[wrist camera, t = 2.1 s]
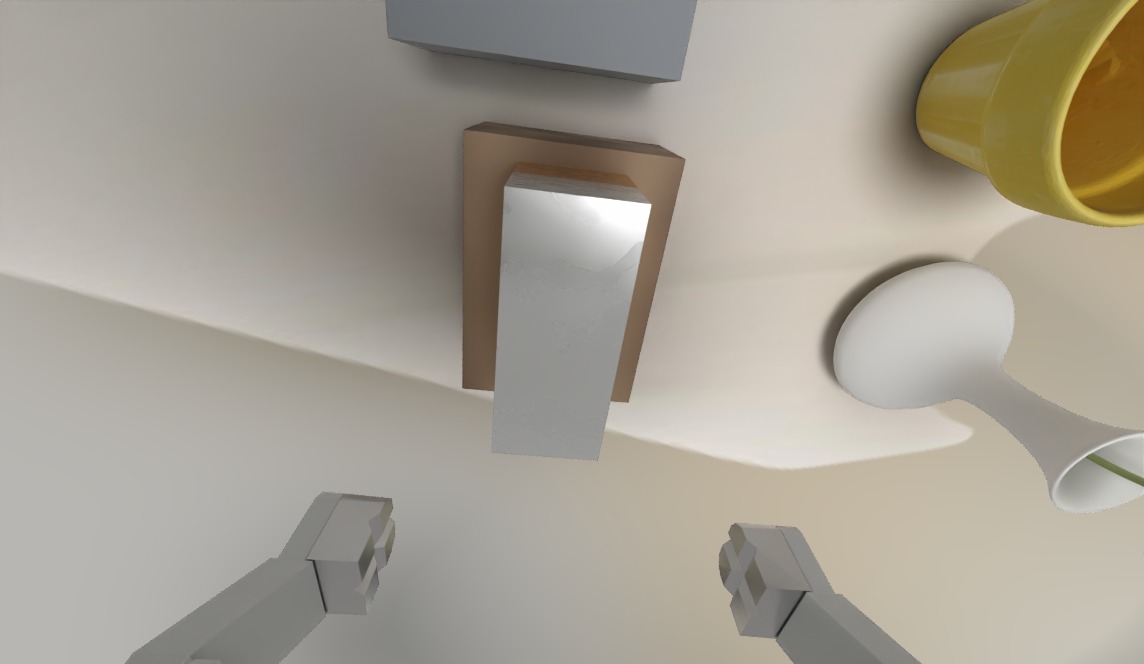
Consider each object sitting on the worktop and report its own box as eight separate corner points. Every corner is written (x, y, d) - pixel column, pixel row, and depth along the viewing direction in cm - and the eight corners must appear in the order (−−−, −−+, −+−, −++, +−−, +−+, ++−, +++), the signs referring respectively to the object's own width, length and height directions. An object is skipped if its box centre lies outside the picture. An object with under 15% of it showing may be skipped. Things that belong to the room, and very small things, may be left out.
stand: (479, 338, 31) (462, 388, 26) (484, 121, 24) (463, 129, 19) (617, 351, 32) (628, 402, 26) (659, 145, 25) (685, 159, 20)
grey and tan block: (505, 378, 25) (491, 452, 20) (519, 161, 20) (504, 186, 14) (590, 385, 26) (597, 460, 21) (627, 175, 20) (651, 204, 15)
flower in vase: (791, 372, 33) (1243, 921, 11) (885, 231, 28) (2082, 740, 6) (930, 411, 35) (1539, 934, 13) (1042, 286, 30) (2342, 808, 8)
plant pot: (1127, -29, 22) (1497, -108, 13) (1021, 186, 27) (1239, 230, 18) (924, -33, 21) (1166, -117, 13) (855, 185, 26) (997, 229, 18)
